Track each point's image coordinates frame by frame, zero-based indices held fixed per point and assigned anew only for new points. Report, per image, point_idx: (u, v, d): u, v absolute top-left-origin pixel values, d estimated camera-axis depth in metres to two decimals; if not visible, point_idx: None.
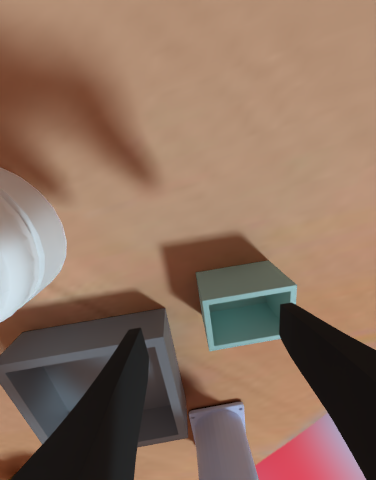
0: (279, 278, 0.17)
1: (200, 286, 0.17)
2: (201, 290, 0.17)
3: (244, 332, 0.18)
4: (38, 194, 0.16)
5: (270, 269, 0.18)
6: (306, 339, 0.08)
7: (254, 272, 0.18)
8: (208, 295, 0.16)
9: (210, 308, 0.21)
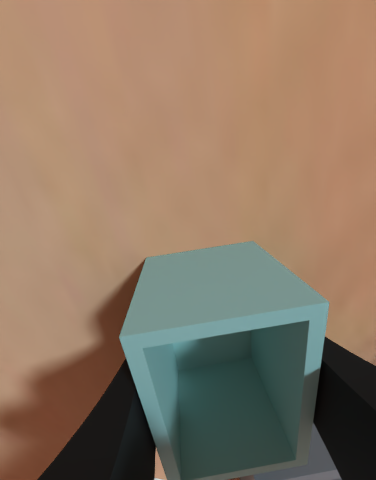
0: None
1: None
2: None
3: (285, 381, 0.07)
4: None
5: None
6: None
7: None
8: None
9: (243, 352, 0.11)
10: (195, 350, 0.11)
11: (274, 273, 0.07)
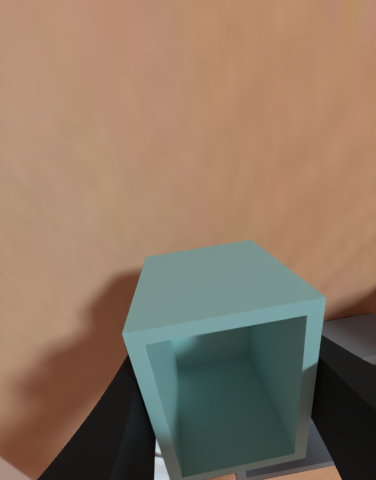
0: None
1: None
2: None
3: (284, 377, 0.07)
4: None
5: None
6: None
7: None
8: None
9: (242, 350, 0.11)
10: (194, 348, 0.11)
11: (272, 270, 0.07)
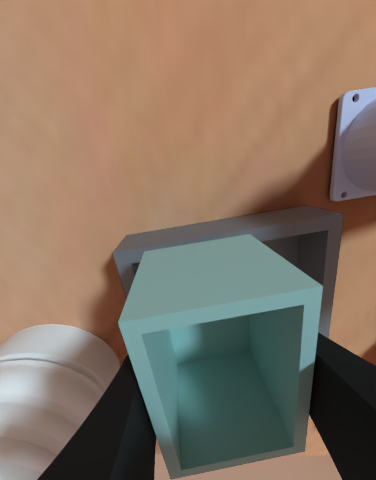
0: None
1: None
2: None
3: (282, 369, 0.07)
4: (6, 340, 0.18)
5: None
6: None
7: None
8: None
9: (241, 345, 0.11)
10: (194, 343, 0.11)
11: (270, 262, 0.07)
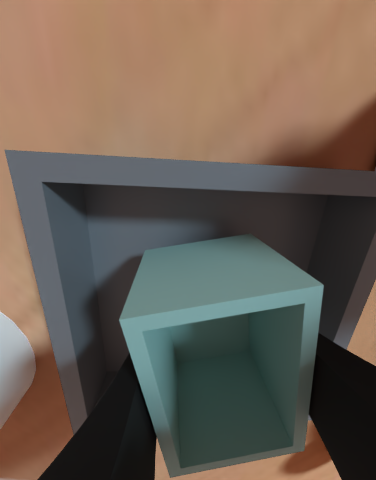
0: None
1: None
2: None
3: (282, 369, 0.07)
4: None
5: None
6: None
7: None
8: None
9: (241, 345, 0.11)
10: (194, 342, 0.11)
11: (271, 261, 0.07)
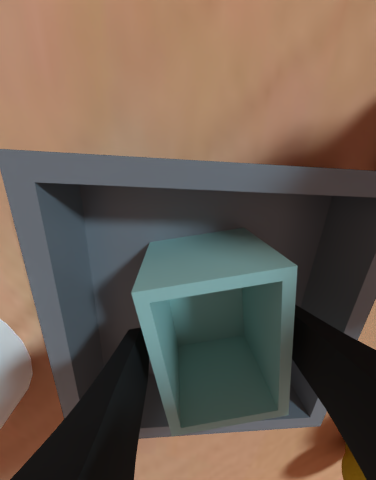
0: None
1: None
2: None
3: (269, 343, 0.08)
4: None
5: None
6: (306, 339, 0.08)
7: None
8: None
9: (236, 329, 0.13)
10: (193, 326, 0.12)
11: (258, 249, 0.08)
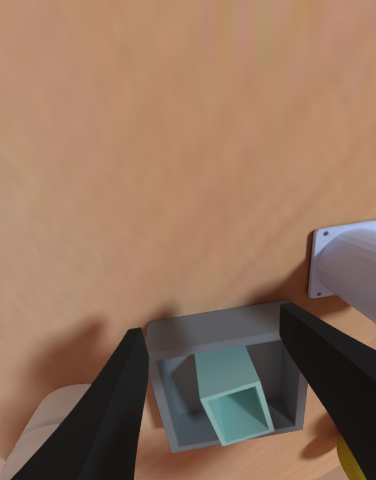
0: None
1: None
2: None
3: (259, 400, 0.19)
4: (47, 397, 0.22)
5: None
6: (306, 339, 0.08)
7: None
8: None
9: None
10: None
11: (246, 364, 0.18)
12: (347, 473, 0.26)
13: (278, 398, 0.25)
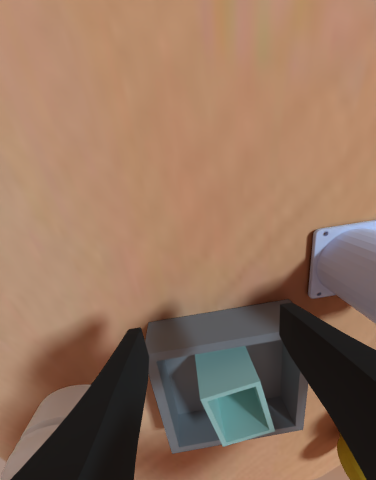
0: None
1: None
2: None
3: (259, 400, 0.19)
4: (48, 397, 0.23)
5: None
6: (306, 339, 0.08)
7: None
8: None
9: None
10: None
11: (246, 364, 0.18)
12: (348, 473, 0.26)
13: (278, 398, 0.25)
